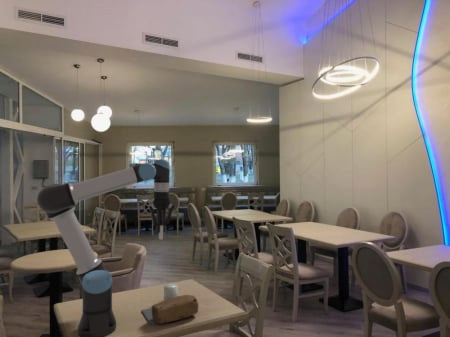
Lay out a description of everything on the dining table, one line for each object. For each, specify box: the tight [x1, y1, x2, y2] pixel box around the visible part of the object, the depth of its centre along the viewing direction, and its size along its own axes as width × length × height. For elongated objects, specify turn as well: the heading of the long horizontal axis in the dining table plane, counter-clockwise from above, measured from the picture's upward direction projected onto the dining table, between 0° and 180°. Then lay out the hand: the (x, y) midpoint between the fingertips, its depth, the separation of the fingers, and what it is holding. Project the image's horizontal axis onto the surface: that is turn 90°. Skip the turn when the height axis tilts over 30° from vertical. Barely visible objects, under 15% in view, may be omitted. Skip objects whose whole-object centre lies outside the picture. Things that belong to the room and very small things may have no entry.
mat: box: [141, 307, 187, 326], centre depth 158 cm, size 18×16×1 cm
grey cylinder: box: [163, 283, 179, 301], centre depth 173 cm, size 7×7×8 cm
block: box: [151, 294, 199, 324], centre depth 154 cm, size 11×8×20 cm
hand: (160, 239), depth 166 cm, fingers closed
